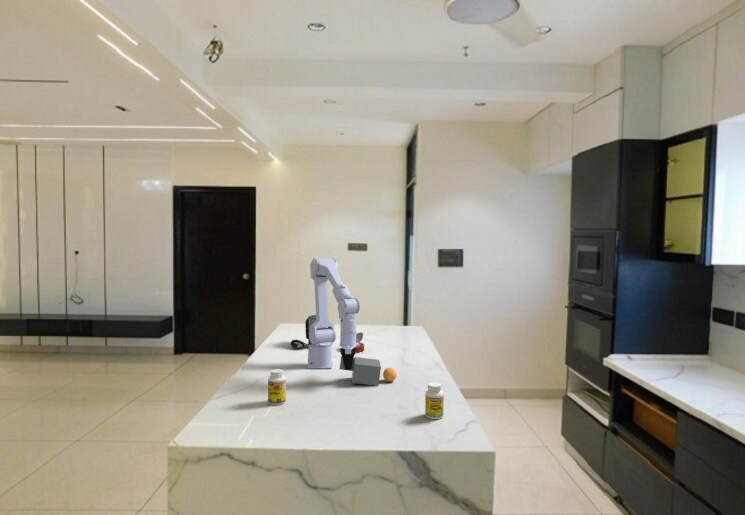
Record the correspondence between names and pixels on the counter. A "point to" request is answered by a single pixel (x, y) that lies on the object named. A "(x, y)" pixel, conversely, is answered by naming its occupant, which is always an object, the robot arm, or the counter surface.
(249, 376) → the counter surface
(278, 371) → the supplement bottle
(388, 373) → the ball
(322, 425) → the counter surface
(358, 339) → the canned food
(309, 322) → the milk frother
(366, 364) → the grey blocky piece
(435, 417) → the supplement bottle
